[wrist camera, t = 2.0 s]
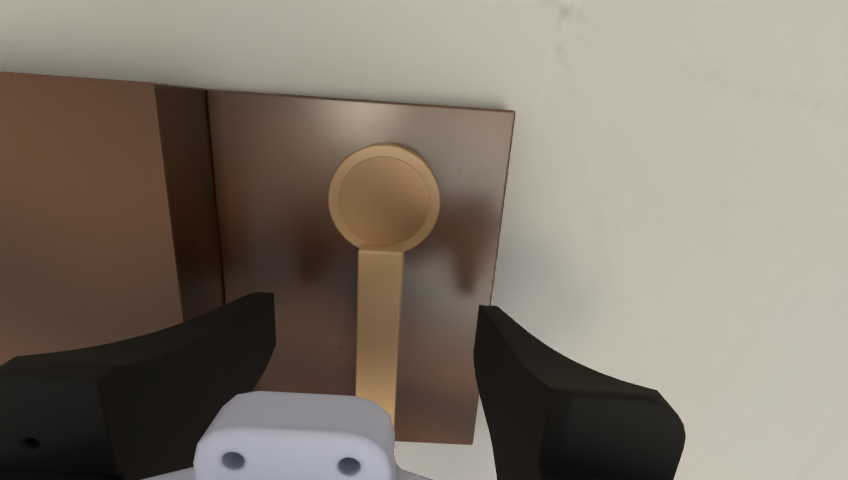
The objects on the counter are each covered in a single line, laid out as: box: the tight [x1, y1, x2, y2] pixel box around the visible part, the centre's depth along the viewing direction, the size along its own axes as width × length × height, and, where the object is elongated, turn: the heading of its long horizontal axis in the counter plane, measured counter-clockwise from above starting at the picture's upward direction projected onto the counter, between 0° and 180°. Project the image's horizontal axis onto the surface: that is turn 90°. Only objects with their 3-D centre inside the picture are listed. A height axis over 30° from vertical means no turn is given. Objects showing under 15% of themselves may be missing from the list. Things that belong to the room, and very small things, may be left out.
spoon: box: [328, 142, 440, 427], centre depth 16 cm, size 12×4×2 cm, turn 176°
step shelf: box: [0, 72, 515, 445], centre depth 16 cm, size 15×20×4 cm
